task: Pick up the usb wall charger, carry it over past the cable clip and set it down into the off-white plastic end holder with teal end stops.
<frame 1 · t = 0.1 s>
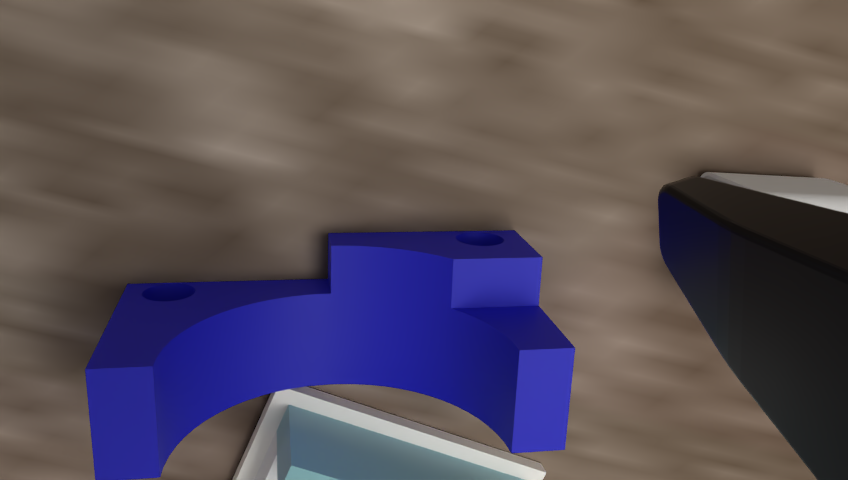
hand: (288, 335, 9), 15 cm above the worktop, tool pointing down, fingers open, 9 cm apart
usb wall charger: (775, 227, 28), on the worktop
cable clip: (327, 296, 26), on the worktop
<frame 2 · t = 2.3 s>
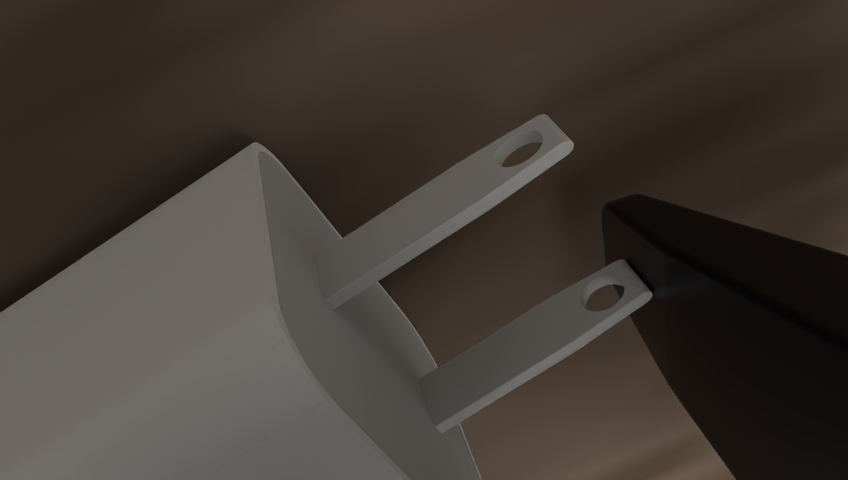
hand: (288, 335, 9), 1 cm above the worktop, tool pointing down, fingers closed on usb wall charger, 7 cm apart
usb wall charger: (289, 275, 10), on the worktop, touching gripper
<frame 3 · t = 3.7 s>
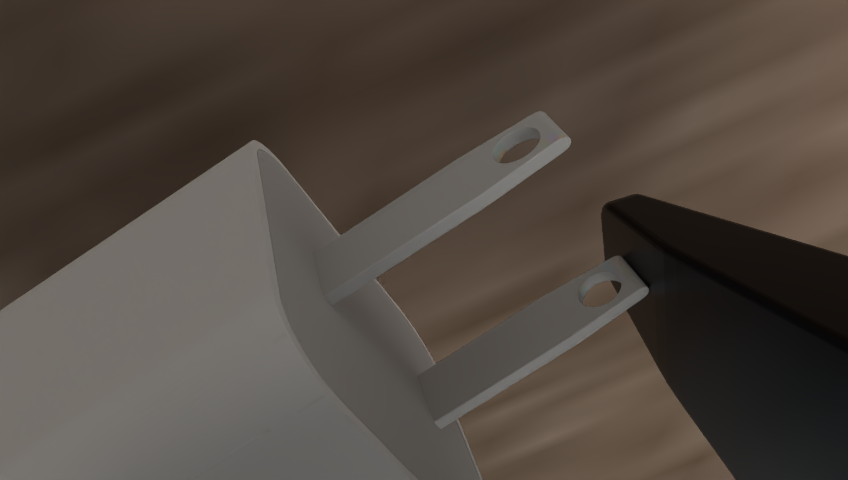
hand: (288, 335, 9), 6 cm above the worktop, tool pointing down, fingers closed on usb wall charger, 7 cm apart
usb wall charger: (287, 273, 10), point 5 cm above the worktop, touching gripper
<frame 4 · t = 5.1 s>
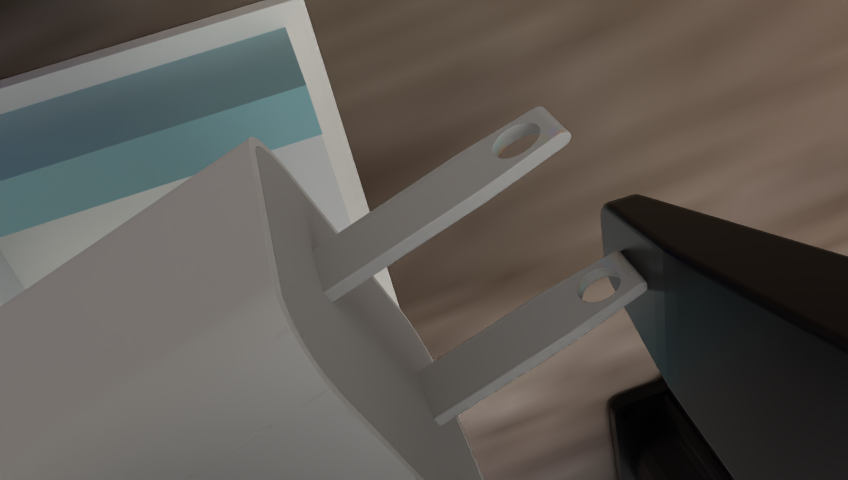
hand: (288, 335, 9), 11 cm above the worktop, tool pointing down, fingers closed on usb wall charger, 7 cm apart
usb wall charger: (285, 271, 10), point 9 cm above the worktop, touching gripper
end holder: (190, 291, 20), on the worktop
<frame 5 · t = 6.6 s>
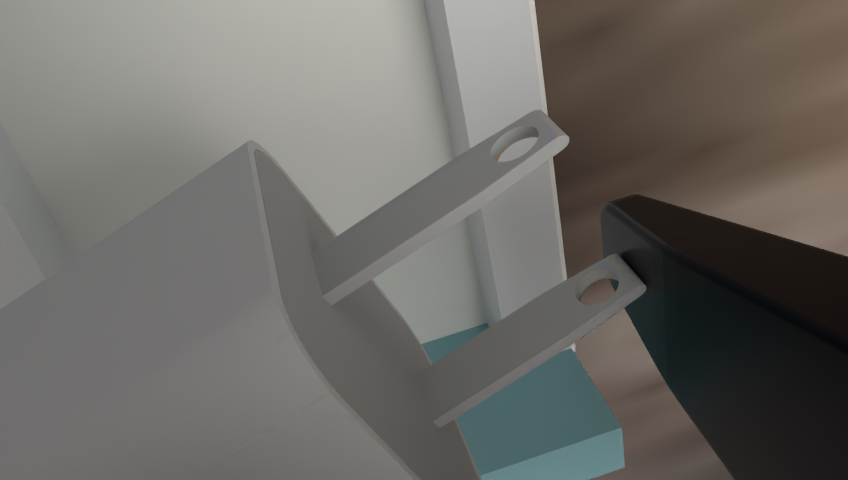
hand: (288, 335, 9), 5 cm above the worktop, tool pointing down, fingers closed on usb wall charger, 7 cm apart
usb wall charger: (283, 273, 10), point 4 cm above the worktop, touching gripper
end holder: (247, 134, 13), on the worktop
when the fingers open (3 cm above the worktop, at t = 7.7 s): usb wall charger stays where it is, resting on end holder.
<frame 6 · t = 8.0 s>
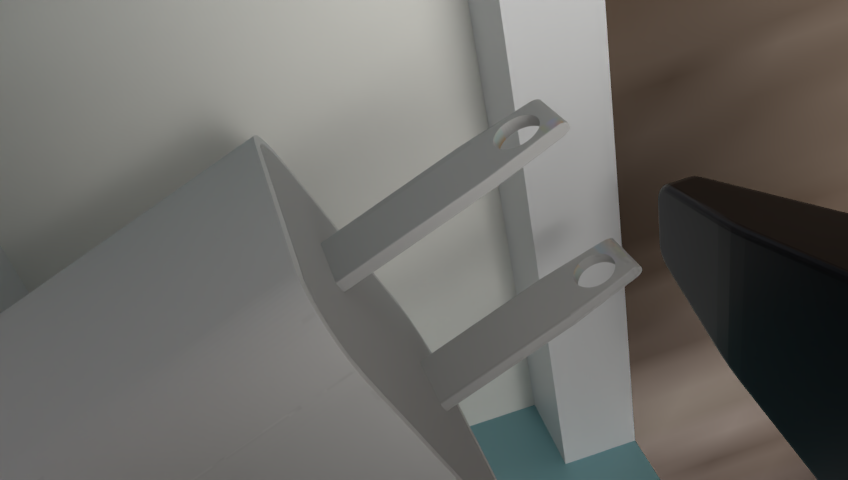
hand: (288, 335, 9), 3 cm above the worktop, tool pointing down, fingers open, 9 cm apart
usb wall charger: (285, 267, 10), point 2 cm above the worktop, touching end holder
end holder: (265, 202, 11), on the worktop
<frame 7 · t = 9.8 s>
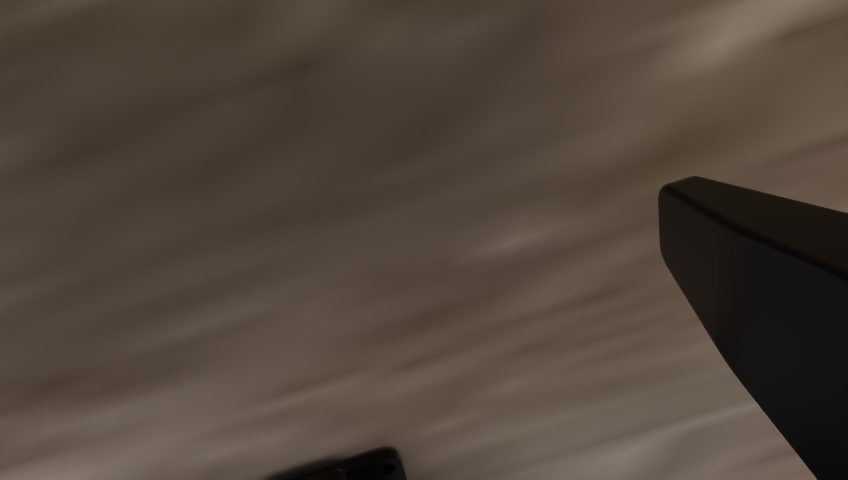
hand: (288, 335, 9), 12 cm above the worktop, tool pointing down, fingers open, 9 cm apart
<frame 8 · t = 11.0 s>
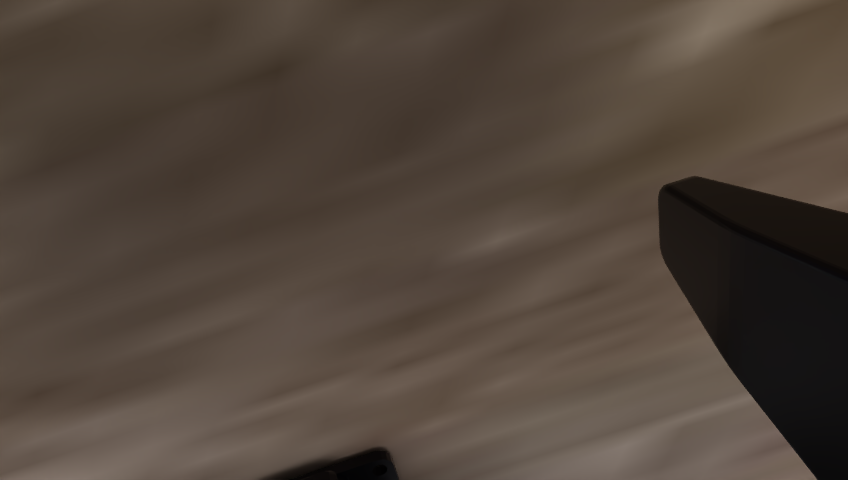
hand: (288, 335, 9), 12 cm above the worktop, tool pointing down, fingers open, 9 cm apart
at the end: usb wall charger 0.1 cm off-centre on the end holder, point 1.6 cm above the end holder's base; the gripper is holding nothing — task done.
